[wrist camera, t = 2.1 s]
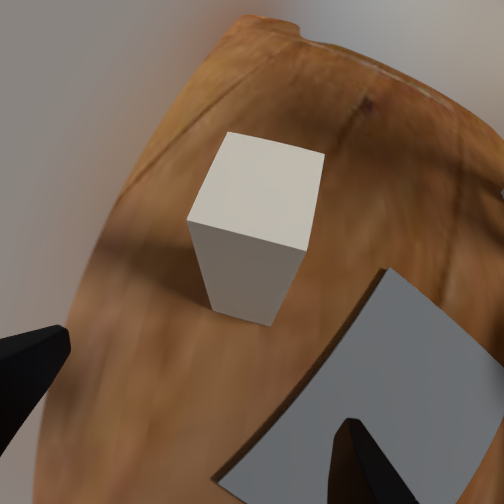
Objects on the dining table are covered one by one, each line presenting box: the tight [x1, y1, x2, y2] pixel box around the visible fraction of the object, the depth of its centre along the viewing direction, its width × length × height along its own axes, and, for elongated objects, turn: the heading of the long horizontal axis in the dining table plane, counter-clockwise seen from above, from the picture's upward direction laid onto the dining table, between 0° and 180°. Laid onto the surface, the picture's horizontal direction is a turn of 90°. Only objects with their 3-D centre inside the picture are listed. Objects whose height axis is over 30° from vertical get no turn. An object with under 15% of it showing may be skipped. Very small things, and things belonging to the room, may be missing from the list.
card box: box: [187, 132, 325, 327], centre depth 18 cm, size 5×4×13 cm
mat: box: [218, 267, 504, 504], centre depth 18 cm, size 22×20×1 cm
